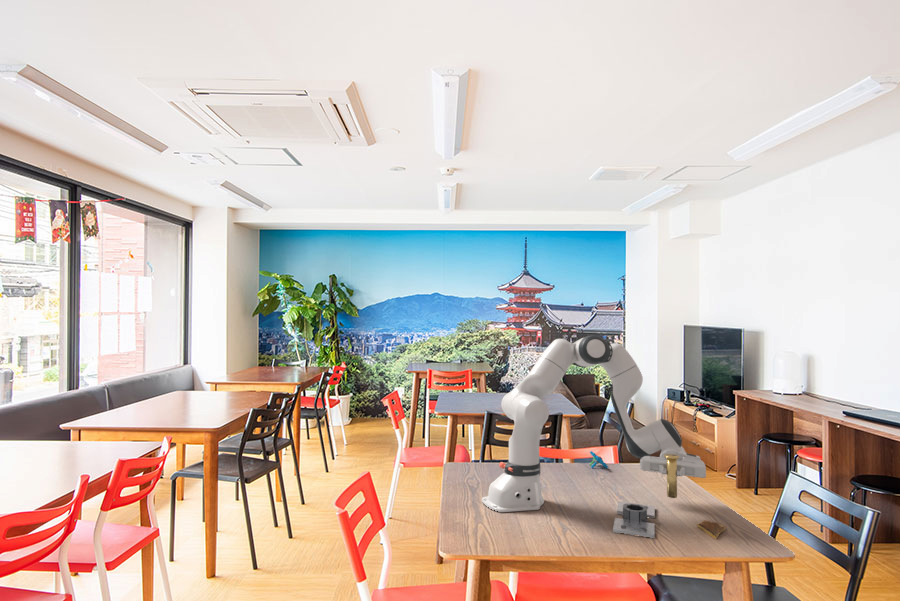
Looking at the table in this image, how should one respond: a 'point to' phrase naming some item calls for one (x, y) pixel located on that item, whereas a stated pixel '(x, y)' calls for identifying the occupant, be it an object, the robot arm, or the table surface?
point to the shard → (711, 528)
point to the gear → (597, 460)
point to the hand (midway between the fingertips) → (671, 472)
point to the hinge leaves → (635, 519)
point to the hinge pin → (671, 475)
